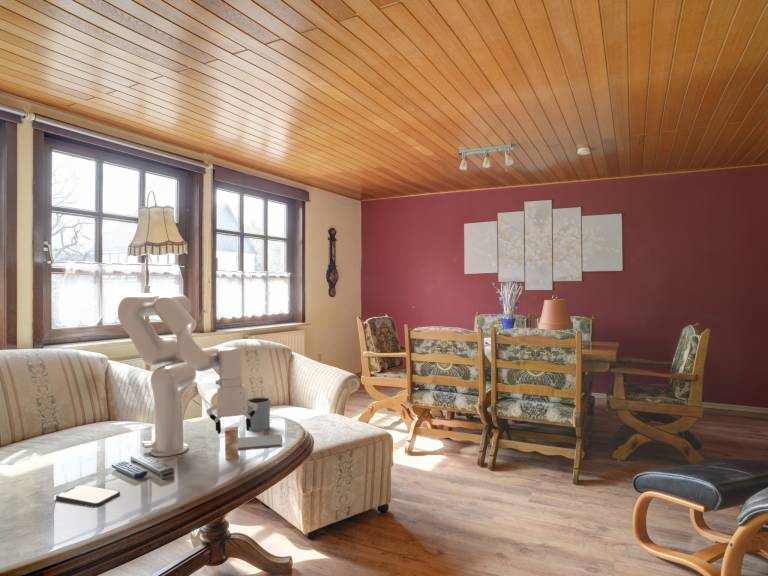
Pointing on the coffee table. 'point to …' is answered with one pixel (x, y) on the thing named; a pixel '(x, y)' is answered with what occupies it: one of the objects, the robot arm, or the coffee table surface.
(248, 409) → the grey-green cup
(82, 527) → the coffee table surface
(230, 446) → the maple block
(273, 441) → the mat
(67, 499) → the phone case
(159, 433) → the robot arm
